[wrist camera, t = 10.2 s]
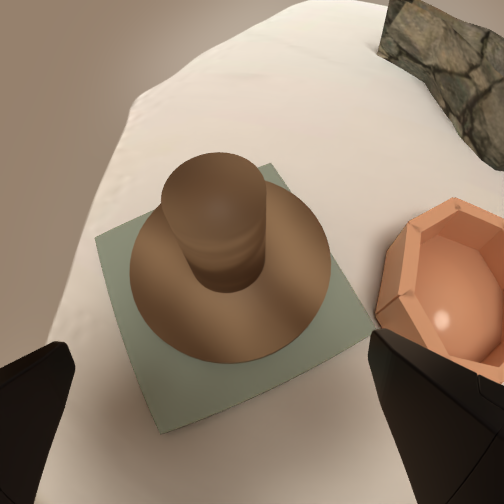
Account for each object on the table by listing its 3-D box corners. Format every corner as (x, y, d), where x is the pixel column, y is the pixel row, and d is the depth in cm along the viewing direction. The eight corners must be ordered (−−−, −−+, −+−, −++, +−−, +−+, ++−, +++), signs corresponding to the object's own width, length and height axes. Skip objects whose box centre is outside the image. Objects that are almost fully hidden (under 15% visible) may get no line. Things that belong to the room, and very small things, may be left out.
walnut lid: (256, 405, 18) (252, 410, 10) (99, 287, 21) (37, 231, 14) (360, 238, 22) (397, 165, 15) (211, 160, 26) (196, 80, 18)
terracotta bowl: (428, 420, 17) (463, 420, 13) (346, 273, 22) (364, 243, 18) (523, 328, 19) (557, 312, 15) (454, 213, 24) (478, 183, 20)
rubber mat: (163, 433, 17) (160, 434, 17) (97, 241, 23) (94, 237, 23) (374, 332, 20) (377, 330, 19) (270, 167, 26) (270, 162, 25)
